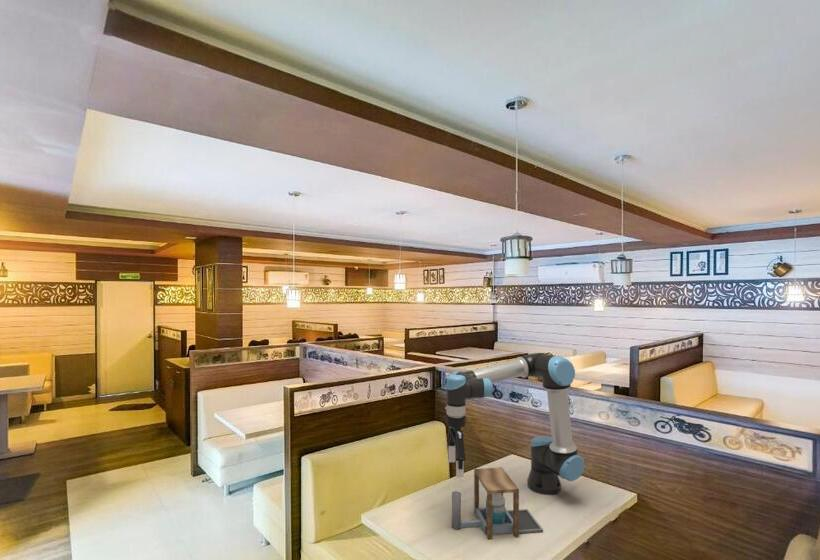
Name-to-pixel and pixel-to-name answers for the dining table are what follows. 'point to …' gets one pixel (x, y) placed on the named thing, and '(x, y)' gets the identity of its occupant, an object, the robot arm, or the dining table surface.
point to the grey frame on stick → (480, 516)
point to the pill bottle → (497, 509)
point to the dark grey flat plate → (527, 522)
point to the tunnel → (493, 484)
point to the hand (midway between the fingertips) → (455, 469)
